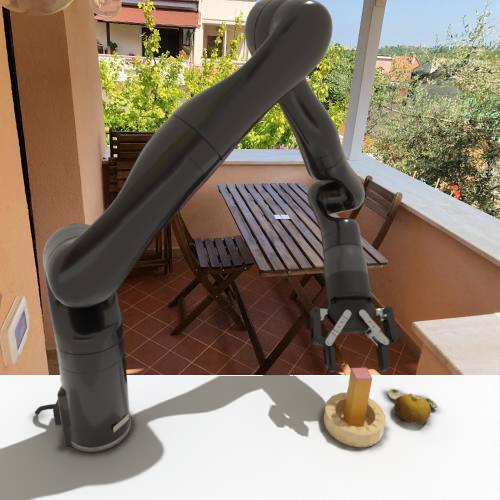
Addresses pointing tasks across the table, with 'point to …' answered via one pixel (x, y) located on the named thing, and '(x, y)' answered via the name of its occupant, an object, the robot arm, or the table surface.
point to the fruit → (411, 407)
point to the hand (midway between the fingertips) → (358, 370)
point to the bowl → (354, 434)
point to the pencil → (357, 396)
